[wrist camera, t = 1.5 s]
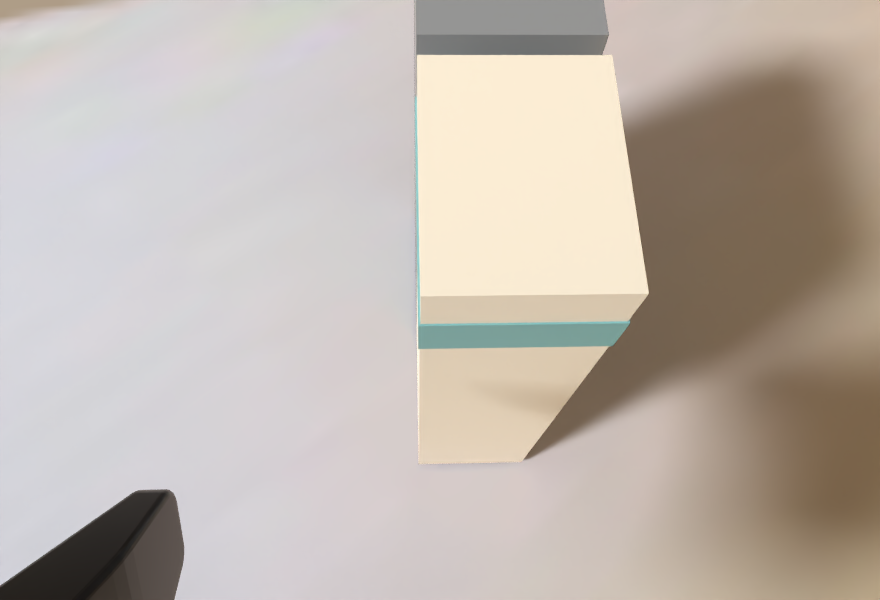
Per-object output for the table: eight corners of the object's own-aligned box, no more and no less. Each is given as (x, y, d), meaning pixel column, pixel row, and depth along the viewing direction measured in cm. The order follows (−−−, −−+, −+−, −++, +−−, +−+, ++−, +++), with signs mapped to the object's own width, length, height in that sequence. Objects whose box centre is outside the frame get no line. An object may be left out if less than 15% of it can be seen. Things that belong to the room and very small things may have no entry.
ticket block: (510, 325, 22) (608, 37, 11) (416, 326, 22) (416, 37, 11) (503, 214, 24) (582, -139, 13) (414, 215, 24) (413, -141, 12)
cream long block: (522, 463, 21) (651, 295, 9) (417, 465, 20) (418, 298, 9) (513, 332, 22) (613, 53, 11) (416, 333, 22) (415, 53, 11)
